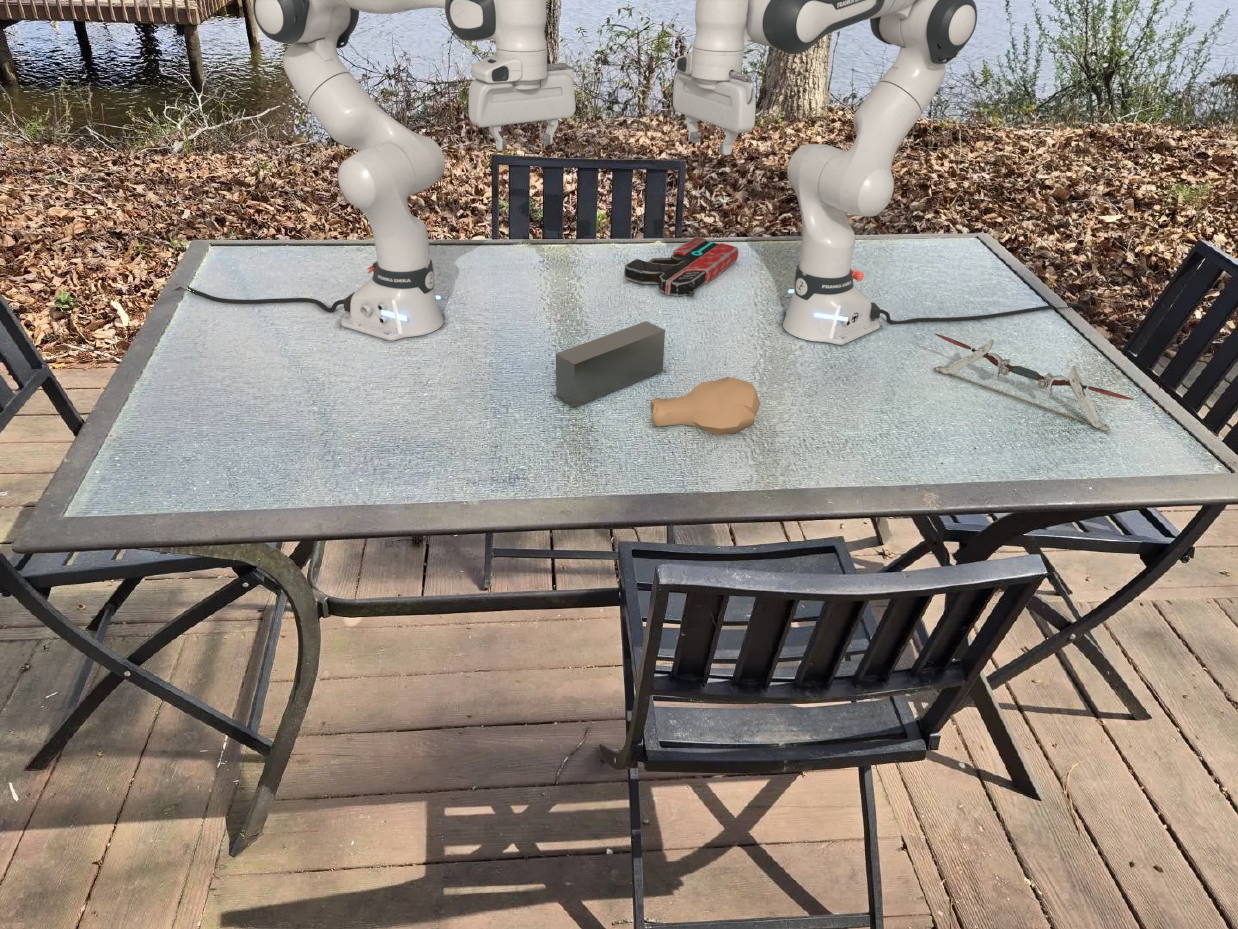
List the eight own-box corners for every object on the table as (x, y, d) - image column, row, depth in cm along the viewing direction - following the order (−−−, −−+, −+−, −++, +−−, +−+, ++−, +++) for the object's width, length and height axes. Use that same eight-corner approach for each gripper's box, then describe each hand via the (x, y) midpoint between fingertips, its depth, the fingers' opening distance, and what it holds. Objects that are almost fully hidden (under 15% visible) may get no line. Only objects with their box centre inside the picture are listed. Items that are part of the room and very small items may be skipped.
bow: (1121, 432, 163) (1140, 385, 158) (1118, 436, 162) (1137, 389, 157) (928, 364, 185) (939, 321, 179) (924, 367, 184) (935, 323, 178)
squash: (764, 441, 158) (764, 403, 152) (653, 450, 160) (649, 412, 153) (757, 403, 166) (757, 365, 160) (652, 411, 167) (648, 374, 161)
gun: (618, 266, 215) (688, 285, 207) (677, 229, 237) (743, 245, 229) (618, 283, 218) (687, 302, 210) (676, 245, 240) (741, 261, 232)
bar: (574, 408, 166) (574, 364, 161) (556, 397, 170) (555, 353, 164) (662, 371, 180) (665, 329, 174) (644, 362, 183) (646, 320, 178)
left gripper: (564, 58, 161) (565, 136, 169) (461, 66, 152) (467, 149, 160) (582, 64, 157) (581, 144, 165) (477, 73, 148) (482, 157, 155)
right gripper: (769, 75, 147) (758, 159, 155) (697, 55, 162) (691, 134, 169) (739, 77, 144) (730, 163, 152) (669, 57, 159) (664, 137, 166)
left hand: (524, 146), depth 162 cm, fingers open, 8 cm apart
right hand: (709, 147), depth 161 cm, fingers open, 8 cm apart
